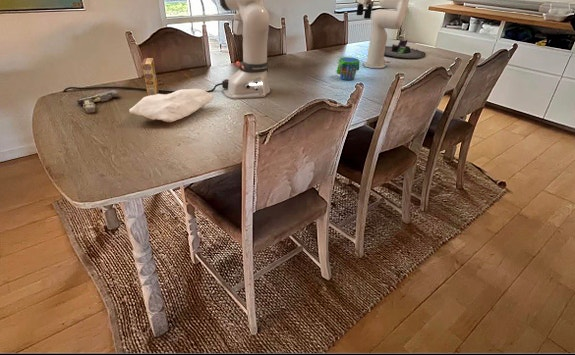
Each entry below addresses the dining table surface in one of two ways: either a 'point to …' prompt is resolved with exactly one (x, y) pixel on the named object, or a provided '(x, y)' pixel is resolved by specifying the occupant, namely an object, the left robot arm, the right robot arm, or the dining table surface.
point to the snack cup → (348, 67)
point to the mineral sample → (403, 51)
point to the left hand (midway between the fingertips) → (250, 41)
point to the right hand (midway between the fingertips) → (363, 16)
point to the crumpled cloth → (171, 104)
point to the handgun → (95, 100)
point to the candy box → (150, 76)
